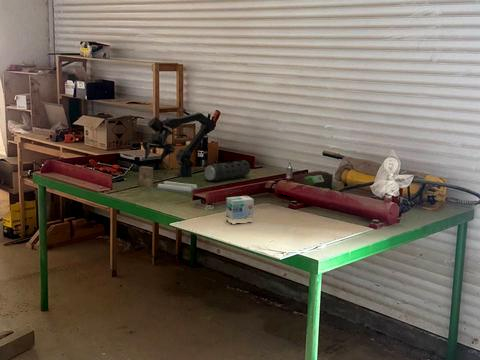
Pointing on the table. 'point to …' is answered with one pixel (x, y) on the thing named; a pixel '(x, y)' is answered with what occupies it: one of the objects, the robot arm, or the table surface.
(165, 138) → the robot arm
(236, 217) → the light bulb box
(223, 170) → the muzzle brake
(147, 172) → the wooden block
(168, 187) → the track board
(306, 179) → the green bottle
